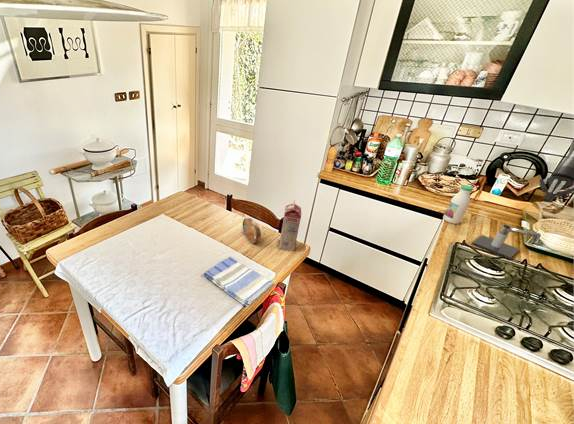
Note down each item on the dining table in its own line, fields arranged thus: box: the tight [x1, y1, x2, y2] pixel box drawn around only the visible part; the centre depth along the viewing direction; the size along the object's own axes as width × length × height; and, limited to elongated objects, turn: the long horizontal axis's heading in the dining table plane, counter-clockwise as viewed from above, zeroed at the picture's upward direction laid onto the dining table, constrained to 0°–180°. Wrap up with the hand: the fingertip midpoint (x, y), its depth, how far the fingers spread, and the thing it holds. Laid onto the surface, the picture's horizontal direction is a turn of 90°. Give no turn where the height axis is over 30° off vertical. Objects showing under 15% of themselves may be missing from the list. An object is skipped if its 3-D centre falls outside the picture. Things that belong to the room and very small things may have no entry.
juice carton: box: [278, 199, 302, 252], centre depth 136 cm, size 7×7×22 cm
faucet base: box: [471, 230, 520, 260], centre depth 140 cm, size 14×12×8 cm
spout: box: [498, 224, 542, 243], centre depth 136 cm, size 14×3×4 cm, turn 64°
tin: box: [242, 217, 262, 244], centre depth 145 cm, size 15×3×8 cm, turn 16°
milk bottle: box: [442, 184, 474, 225], centre depth 159 cm, size 8×8×20 cm
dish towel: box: [203, 256, 276, 308], centre depth 119 cm, size 17×24×3 cm
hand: (546, 200), depth 139 cm, fingers closed
